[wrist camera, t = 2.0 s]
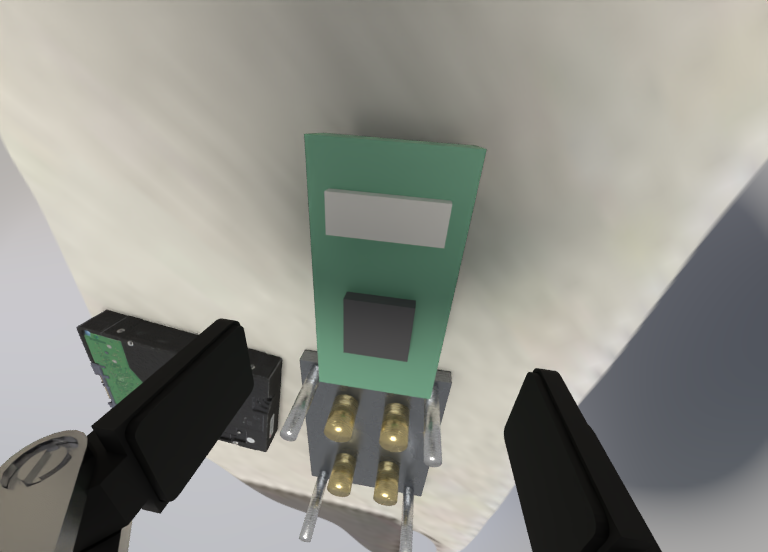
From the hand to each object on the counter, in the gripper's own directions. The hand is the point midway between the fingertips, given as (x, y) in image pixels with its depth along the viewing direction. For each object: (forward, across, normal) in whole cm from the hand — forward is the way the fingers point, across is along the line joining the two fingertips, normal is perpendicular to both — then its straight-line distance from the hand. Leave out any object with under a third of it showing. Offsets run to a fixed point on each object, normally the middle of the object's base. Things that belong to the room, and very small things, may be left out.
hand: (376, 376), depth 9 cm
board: (+6, 0, -1) cm, 6 cm away
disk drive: (+10, +17, +13) cm, 23 cm away
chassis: (+9, +1, +16) cm, 18 cm away
